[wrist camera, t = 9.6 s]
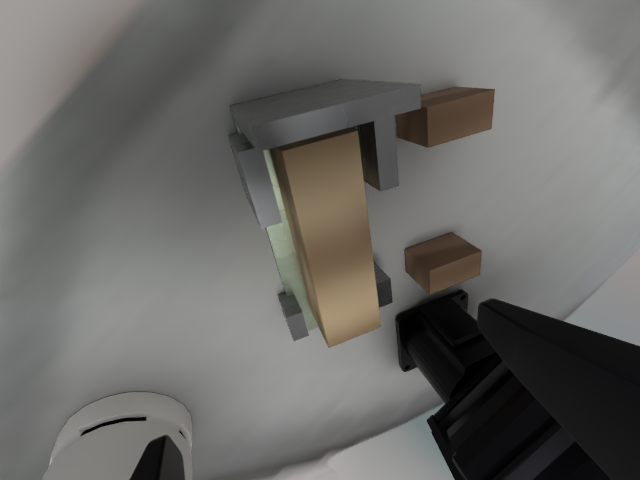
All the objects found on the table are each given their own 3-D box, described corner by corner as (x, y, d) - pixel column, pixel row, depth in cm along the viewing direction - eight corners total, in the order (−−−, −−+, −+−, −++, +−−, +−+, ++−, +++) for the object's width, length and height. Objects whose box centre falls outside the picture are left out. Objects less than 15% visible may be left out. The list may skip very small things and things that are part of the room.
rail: (357, 294, 24) (381, 326, 21) (311, 311, 23) (329, 347, 20) (330, 120, 18) (357, 130, 15) (266, 136, 17) (282, 151, 14)
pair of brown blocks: (451, 254, 26) (479, 274, 23) (405, 271, 25) (430, 294, 22) (455, 86, 20) (494, 89, 17) (395, 102, 19) (427, 107, 16)
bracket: (377, 298, 25) (434, 368, 19) (289, 332, 24) (322, 419, 18) (351, 76, 18) (432, 81, 12) (219, 107, 16) (235, 130, 10)
